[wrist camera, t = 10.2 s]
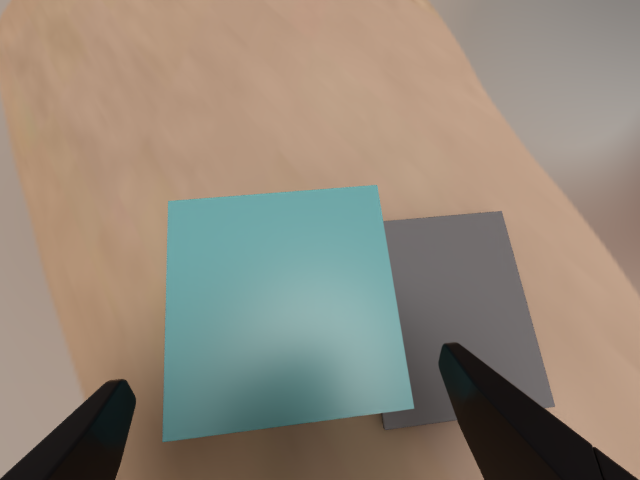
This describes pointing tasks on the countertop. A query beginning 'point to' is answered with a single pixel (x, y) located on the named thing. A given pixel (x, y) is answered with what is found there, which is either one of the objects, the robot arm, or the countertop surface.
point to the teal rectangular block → (279, 313)
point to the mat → (460, 308)
